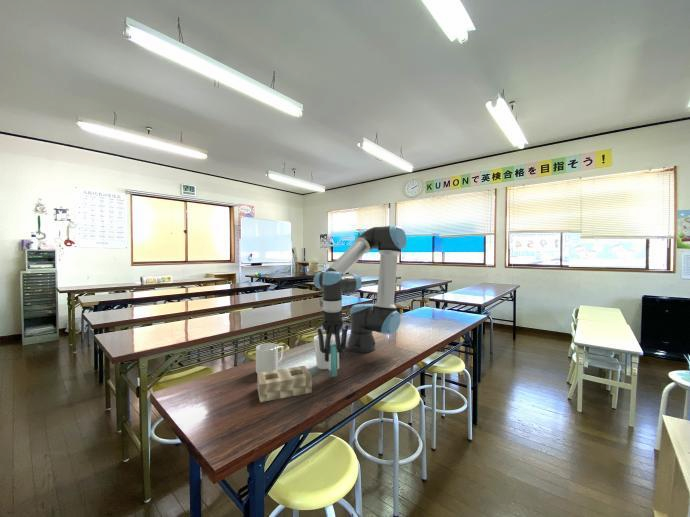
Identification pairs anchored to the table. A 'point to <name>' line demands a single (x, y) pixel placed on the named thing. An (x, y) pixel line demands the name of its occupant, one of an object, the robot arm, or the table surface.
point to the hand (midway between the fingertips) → (333, 368)
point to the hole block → (283, 383)
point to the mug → (268, 357)
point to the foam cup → (319, 355)
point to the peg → (333, 360)
